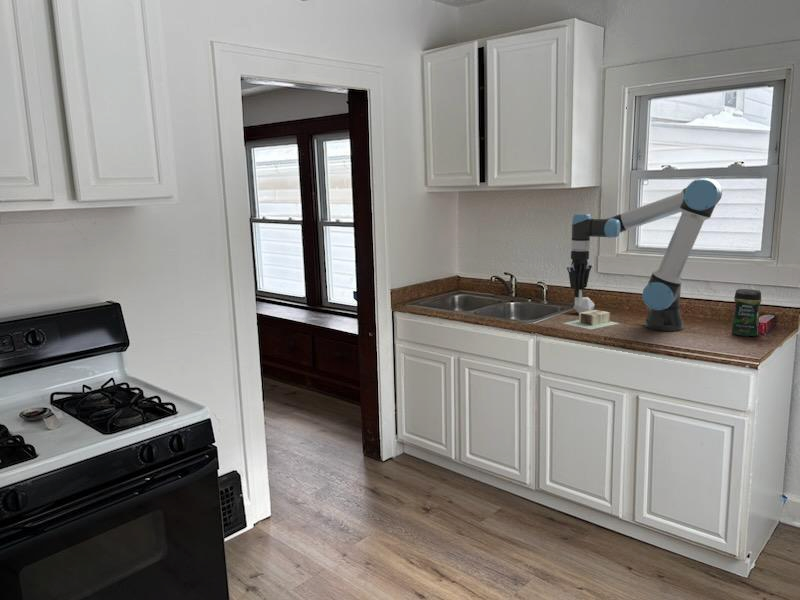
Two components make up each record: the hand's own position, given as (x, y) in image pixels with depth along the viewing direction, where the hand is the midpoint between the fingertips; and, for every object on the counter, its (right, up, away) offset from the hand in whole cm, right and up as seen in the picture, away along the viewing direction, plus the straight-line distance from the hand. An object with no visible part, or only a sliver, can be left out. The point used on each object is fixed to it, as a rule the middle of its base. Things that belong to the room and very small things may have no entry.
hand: (578, 304), depth 285 cm
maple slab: (+5, -7, +4) cm, 9 cm away
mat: (+7, -9, +6) cm, 13 cm away
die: (+10, -5, +27) cm, 29 cm away
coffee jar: (+62, -12, -20) cm, 66 cm away
